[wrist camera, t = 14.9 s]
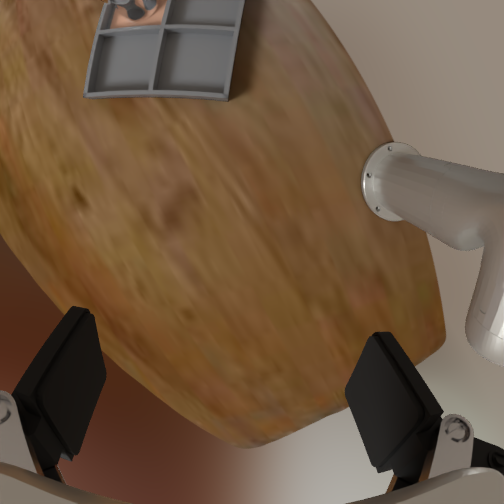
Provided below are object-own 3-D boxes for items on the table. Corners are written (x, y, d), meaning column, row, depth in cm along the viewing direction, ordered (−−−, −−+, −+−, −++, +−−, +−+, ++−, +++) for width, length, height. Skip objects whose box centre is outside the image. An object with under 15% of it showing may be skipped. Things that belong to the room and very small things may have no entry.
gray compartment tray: (248, -16, 28) (249, -26, 25) (228, 101, 35) (227, 98, 32) (118, -14, 25) (112, -21, 23) (92, 99, 33) (83, 97, 30)
